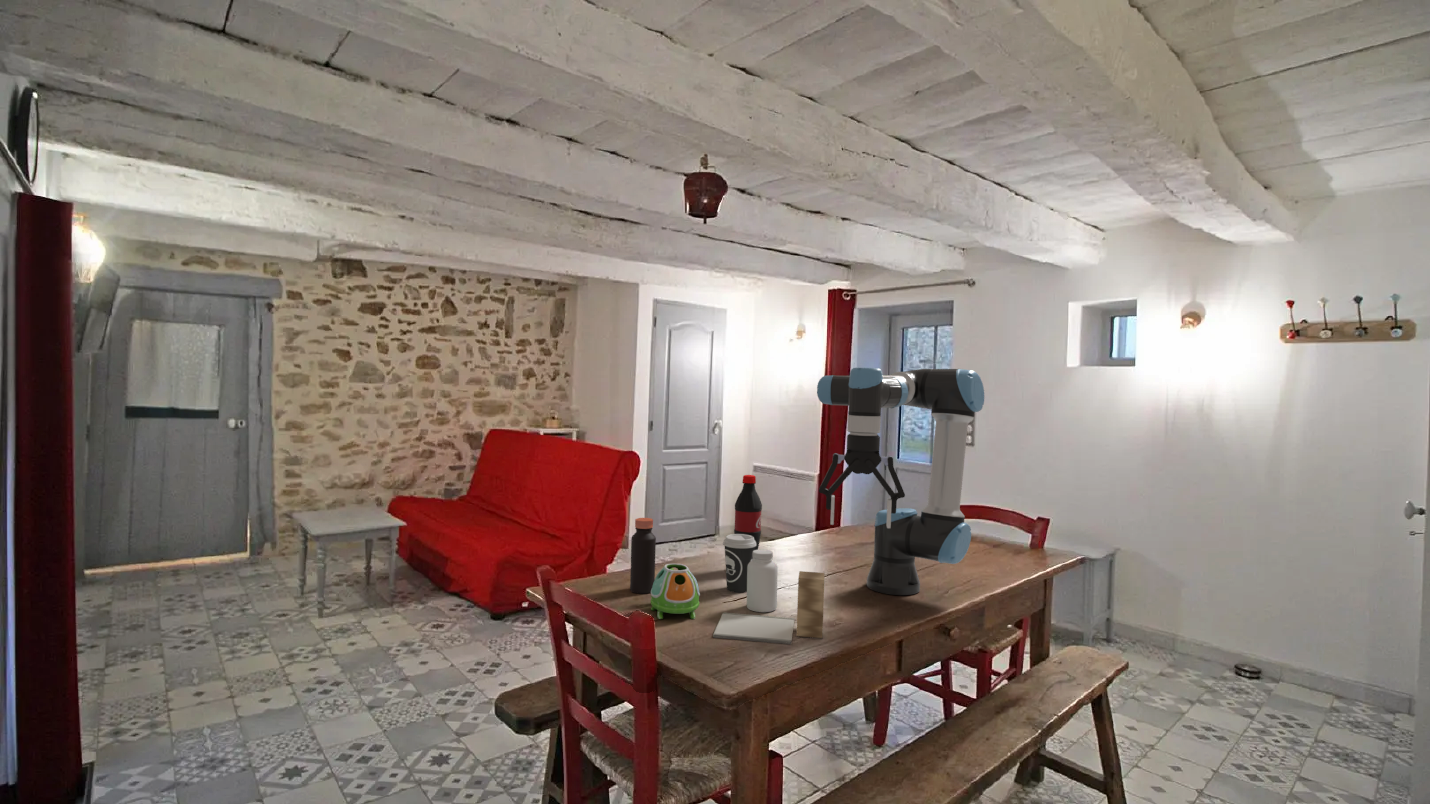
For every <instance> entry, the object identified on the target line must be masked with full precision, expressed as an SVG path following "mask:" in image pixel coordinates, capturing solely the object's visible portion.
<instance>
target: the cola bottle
mask: <svg viewBox="0 0 1430 804" xmlns="http://www.w3.org/2000/svg"><path fill="white" fill-rule="evenodd" d="M756 480H757V478H756V476H755V475H753V474H744V475H743V476H742V484H743V485H742V489H741V491H740V493H739V495H738V497H737V499H736V502H735V503H734V529H733V534H745V535H750V536H753V537H754V540H755V541H756V546H755V549H754V550H759V546H760V541H761V537H762V536H761V535H762V509H763V503H762V501H761V498H760V496H759V493H758V492H757V491H756V485H755V484H756V482H757V481H756Z"/></svg>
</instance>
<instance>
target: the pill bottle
mask: <svg viewBox="0 0 1430 804" xmlns="http://www.w3.org/2000/svg"><path fill="white" fill-rule="evenodd" d="M773 558H774V552H773V551H772V550H770V549H760V548H758V550H754V551H753V560H752V561H751V562H749V564H748V566H747V592H746V607H747V609H748V610H750V611H753V612H756V613H770V612H774V611H775V610H776V609H777V606H778V574H779V573H778V572H779V571H778V568H779V567H778V565H777V563H776V562H775V561H774V559H773Z"/></svg>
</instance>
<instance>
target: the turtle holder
mask: <svg viewBox="0 0 1430 804" xmlns="http://www.w3.org/2000/svg"><path fill="white" fill-rule="evenodd" d="M699 589H700V588H699V585H698V581H697V578H696V577H695V576H694V574H693V572H691V571H690V568H689V567H688V566H687V565H685V564H682V563H666V564H665V565H664V566H663V567H662V568H660V570H659V571H658V572H657V574H655V581H654V583H653V586H652V589H651V593H650V595H651V596H650V597H651V599H650V604H651V608H650V610H651V611H652V612H653V611H657V613H656V614H657V615H656V617H657V619H658V620H663V619H664V613H666V614H674V615H675V614H677V615H678V614H679V615H680V614H688V613H689V614H688V615H689V618H690V619H691V620H695V619H696V613H695V610H697V609H698V608H699V606H700V601H699V600H700V596H701V593H700V590H699Z"/></svg>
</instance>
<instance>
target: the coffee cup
mask: <svg viewBox="0 0 1430 804" xmlns="http://www.w3.org/2000/svg"><path fill="white" fill-rule="evenodd" d="M722 545H723V547H724V558H725V559H724V560H725V576H726V578H725V579H726V590H727V591H728V592H731V593H738V594H741V593H742V594H743V593H747V566H748V564H749V562H751V561H752V560H753V551H754V549H755V546H756V541H755V540H754V537H753V536H750V535H745V534H734V533H733V534H732V533H731V534H728V535H726V536H725V538H724V540H723V542H722Z"/></svg>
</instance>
